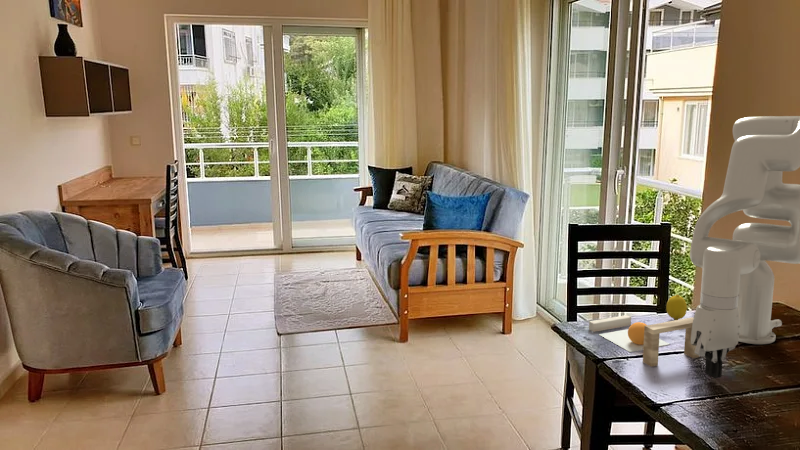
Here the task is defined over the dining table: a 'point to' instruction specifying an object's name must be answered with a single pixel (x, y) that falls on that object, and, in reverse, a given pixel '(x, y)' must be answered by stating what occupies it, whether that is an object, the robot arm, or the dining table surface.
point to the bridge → (655, 329)
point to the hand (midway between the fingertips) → (713, 375)
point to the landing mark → (626, 340)
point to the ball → (637, 333)
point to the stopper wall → (609, 323)
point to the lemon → (676, 307)
